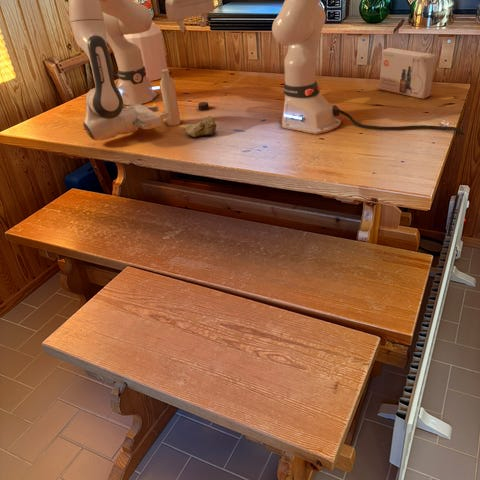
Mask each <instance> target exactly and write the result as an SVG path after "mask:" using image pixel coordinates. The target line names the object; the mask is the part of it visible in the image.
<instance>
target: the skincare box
mask: <svg viewBox="0 0 480 480" xmlns="http://www.w3.org/2000/svg"><path fill="white" fill-rule="evenodd" d="M436 57H437V54H435V53H427V52H423V51H422V52H420V51H413V50H407V49H400V48H395V47H394V48H393V47H387V48H385V49H382V50H381V61H380V74H379V86H378V87H379V88H378V89H379V90H383V91H387V92H391V93H395V94H399V95H405V96H409V97H414V98H418V99H422V100H424V99H426V98H428V97H430V96H431V91H432V86H433V85H432V84H433V78H434V73H435V72H434V71H435V70H434V69H435V64H436Z"/></svg>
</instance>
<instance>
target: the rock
mask: <svg viewBox="0 0 480 480" xmlns="http://www.w3.org/2000/svg"><path fill="white" fill-rule="evenodd" d="M217 126H218V125H217V123H216V122H215V118H214V117H213V116H212V115H209V116H205V117H204V119H201V120H200V121H199V122H198V123H187V124H185V132H186V134H187V136H189V137H192V138H197V137H203V136H212V135H214V134H215V131H216V130H217Z"/></svg>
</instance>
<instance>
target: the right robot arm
mask: <svg viewBox="0 0 480 480" xmlns="http://www.w3.org/2000/svg"><path fill="white" fill-rule="evenodd" d="M320 3H321V0H284V2H283V4H282V6H281V8H280V11H279V13H278V14H277V16H276V18H275V19H274V20H273V22H272V26H271V33H272V36H273V39H274V40H275V42H277V43H278V44H279V45H282V46H284V47H288V48H287V52H286V55H285V56H284V59H283V60H284V61H283V67H284V68H283V70H284V82H283V89H282V90H283V94H284V103H283V111H282V116H281V120H280V121H281V128H282V129H288V130H292V131H298V132H303V133H309V134H313V135H314V134H315V135H319V134H324V133H328V132H331V131H332V130H335V129H337V128H338V127H339V126H340V125H341V124H342V120H341V119H340V118H337V117H340V116H341V115H344V116H345V117H347V118H348V119H349V120H350V121H351V122H352V124H354V125H355V126H357V127H359V128H363V129H373V130H385V131H386V130H389V131H390V130H391V131H392V130H397V131H398V130H411V129H428V130H431V129H433V130H440V131H441V130H442V131H455V132H457V133H458V134H459V135H461V136H464V135H465V134H464V132H463V130H461V129H460V128H458V127H456V126H440V125H427V124H426V125H425V124H424V125H422V124H421V125H401V126H400V125H399V126H380V125H370V124H363V123H360V122H358V121H356V120H355V119H354V118H353V117H352V115H350V114H349V113H348V112H346V111H343V110H342V109H340V108H339V107H338V106H337V105H335V104H334V105H332V104H331V103H330V102H329V101H328V100H327V99H326V98H325V97H324V96H323V95H322V94H321V93H320V90H321V89H322V86H323V85H322V84H320V85H319V84H318V81H317V57H318V50H319V45H320V40H321V35H322V32H323V31H322V30H323V29H324V25H325V23H326V17H327V16H326V11H325V10H324V8H323V6H322V5H320ZM164 6H165V13H166V18H167V19H168V21H176V24H177V25H178V26H179V29H180V32H181V33H185V32H187V26H186V25H184V24H183V22H184V19H188V18H192V17H195V16H201V21H199V24H200V27H201V28H205V27H207V24H206V23H207V19H208V14H210V13H213V12H214V11H215V1H214V0H165V5H164ZM340 114H341V115H340ZM459 197H460V193H458V194H457V195H456V196H455V197H454V202H453V206H452V211H451V215H450V219H449V222H448V223H449V224H448V229H447V236H451V233H452V228H453V224H454V223H453V222H454V219H455V214H456V210H457V206H458V202H459Z"/></svg>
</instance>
